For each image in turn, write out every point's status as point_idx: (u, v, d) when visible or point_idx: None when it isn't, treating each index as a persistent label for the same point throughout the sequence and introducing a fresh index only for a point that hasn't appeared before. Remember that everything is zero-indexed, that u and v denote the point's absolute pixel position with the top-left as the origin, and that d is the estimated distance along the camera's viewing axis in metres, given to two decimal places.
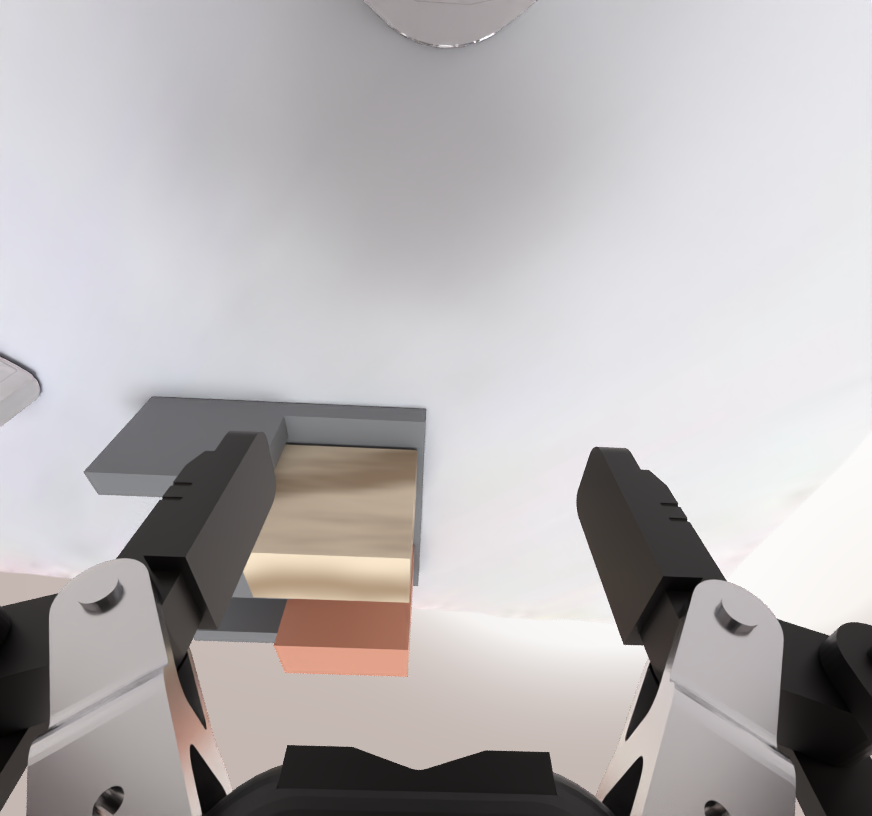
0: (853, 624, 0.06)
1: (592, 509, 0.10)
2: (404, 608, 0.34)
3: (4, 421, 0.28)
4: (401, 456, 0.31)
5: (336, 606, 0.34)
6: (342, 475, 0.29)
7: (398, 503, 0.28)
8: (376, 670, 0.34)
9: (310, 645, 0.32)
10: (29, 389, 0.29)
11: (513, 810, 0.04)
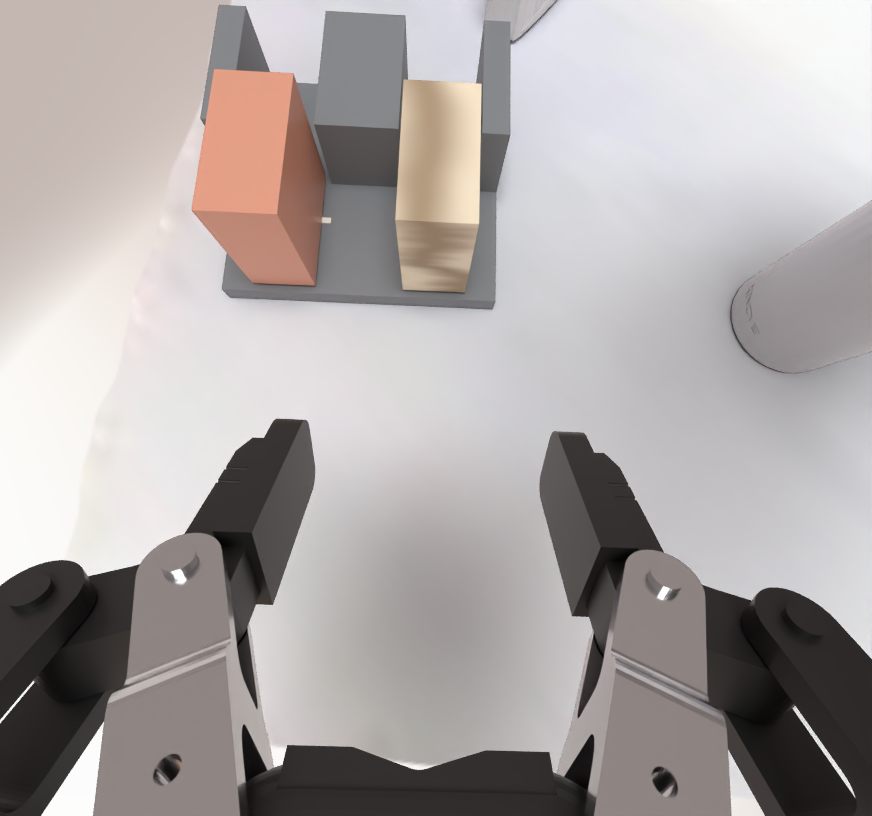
0: (768, 590, 0.07)
1: (551, 491, 0.11)
2: (293, 237, 0.28)
3: (501, 0, 0.38)
4: None
5: (301, 165, 0.29)
6: None
7: None
8: (215, 173, 0.25)
9: (289, 110, 0.27)
10: None
11: (513, 810, 0.04)
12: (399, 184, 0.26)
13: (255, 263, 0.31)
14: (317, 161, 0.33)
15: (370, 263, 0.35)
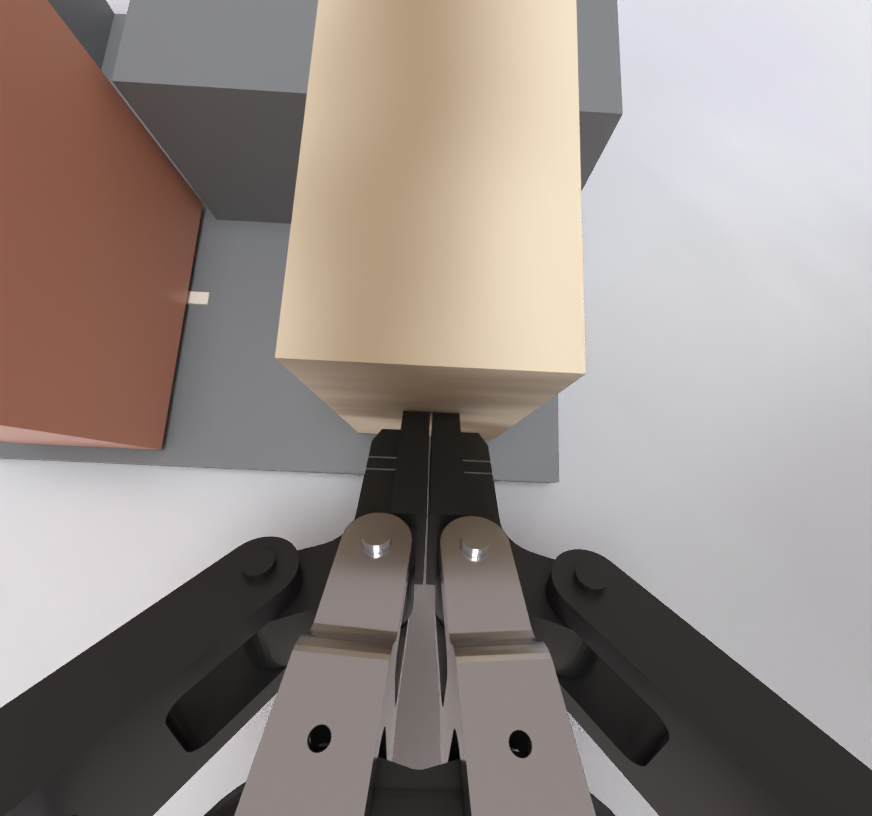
0: (558, 559, 0.07)
1: None
2: (7, 403, 0.10)
3: None
4: None
5: (57, 189, 0.11)
6: None
7: None
8: None
9: None
10: None
11: None
12: (299, 223, 0.07)
13: None
14: (161, 174, 0.14)
15: (288, 394, 0.16)
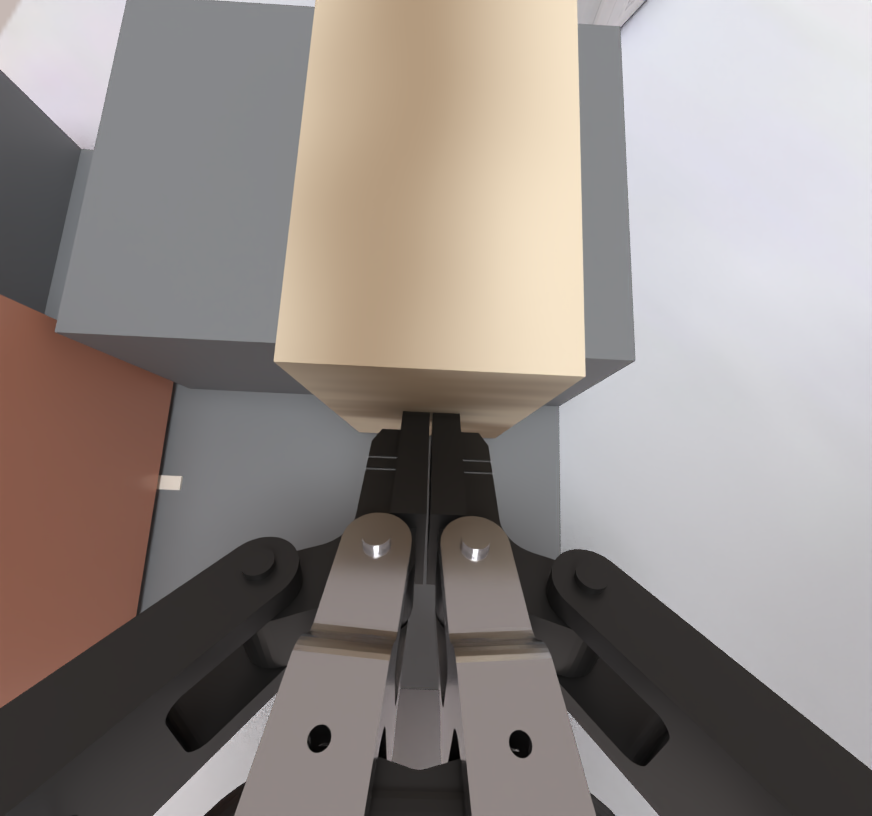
0: (559, 559, 0.07)
1: None
2: None
3: None
4: None
5: None
6: None
7: None
8: None
9: None
10: None
11: None
12: (297, 225, 0.07)
13: None
14: (123, 377, 0.13)
15: None
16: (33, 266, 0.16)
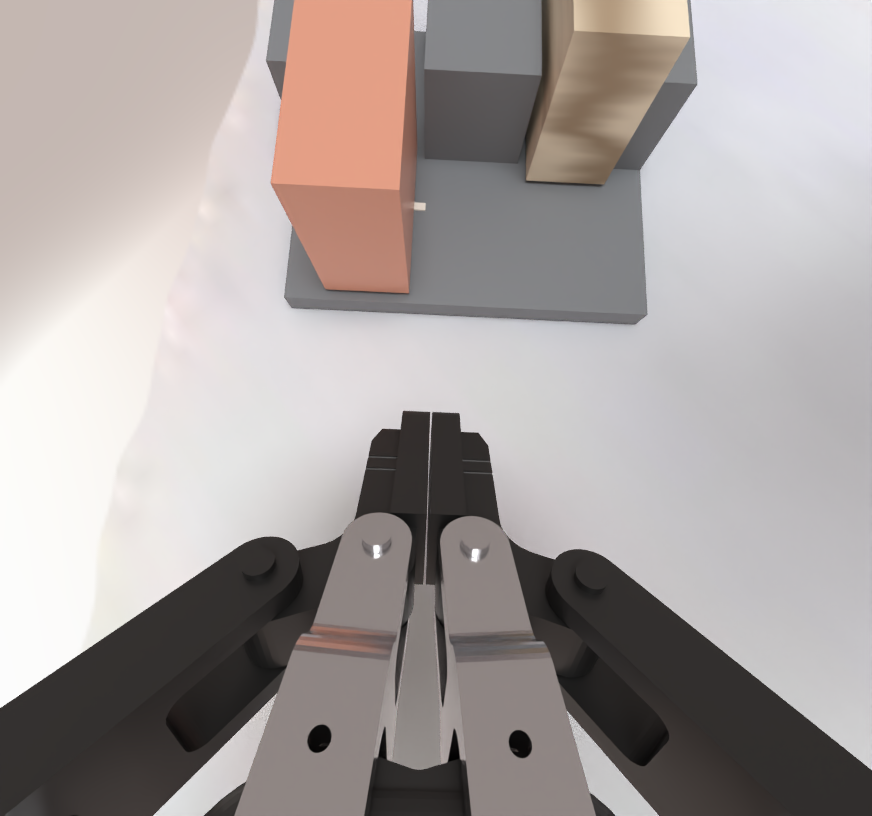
0: (558, 558, 0.07)
1: None
2: (404, 226, 0.20)
3: None
4: None
5: (410, 124, 0.21)
6: None
7: None
8: (304, 128, 0.17)
9: (409, 37, 0.18)
10: None
11: None
12: None
13: (339, 264, 0.22)
14: (415, 125, 0.25)
15: (478, 263, 0.26)
16: None
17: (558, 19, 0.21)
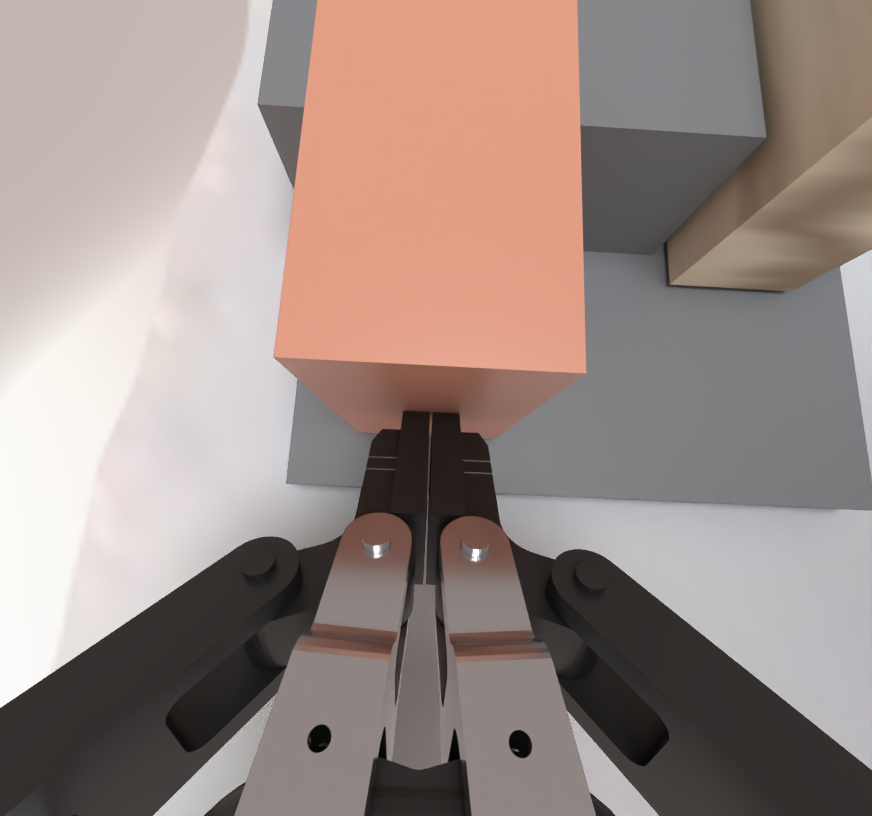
0: (558, 559, 0.07)
1: None
2: None
3: None
4: None
5: None
6: None
7: None
8: (352, 218, 0.07)
9: (576, 14, 0.08)
10: None
11: None
12: None
13: (392, 421, 0.13)
14: None
15: (601, 422, 0.16)
16: None
17: (814, 36, 0.11)
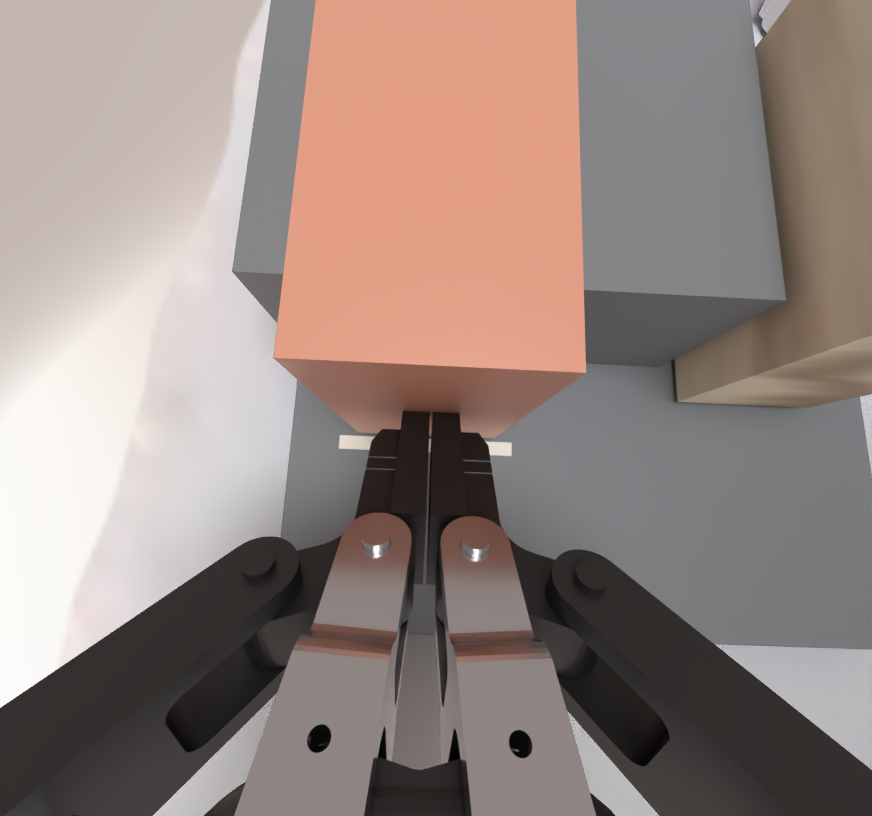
0: (558, 559, 0.07)
1: None
2: None
3: None
4: None
5: None
6: None
7: None
8: (352, 218, 0.07)
9: (575, 12, 0.08)
10: None
11: None
12: None
13: (392, 421, 0.13)
14: None
15: (606, 555, 0.15)
16: None
17: (840, 202, 0.10)
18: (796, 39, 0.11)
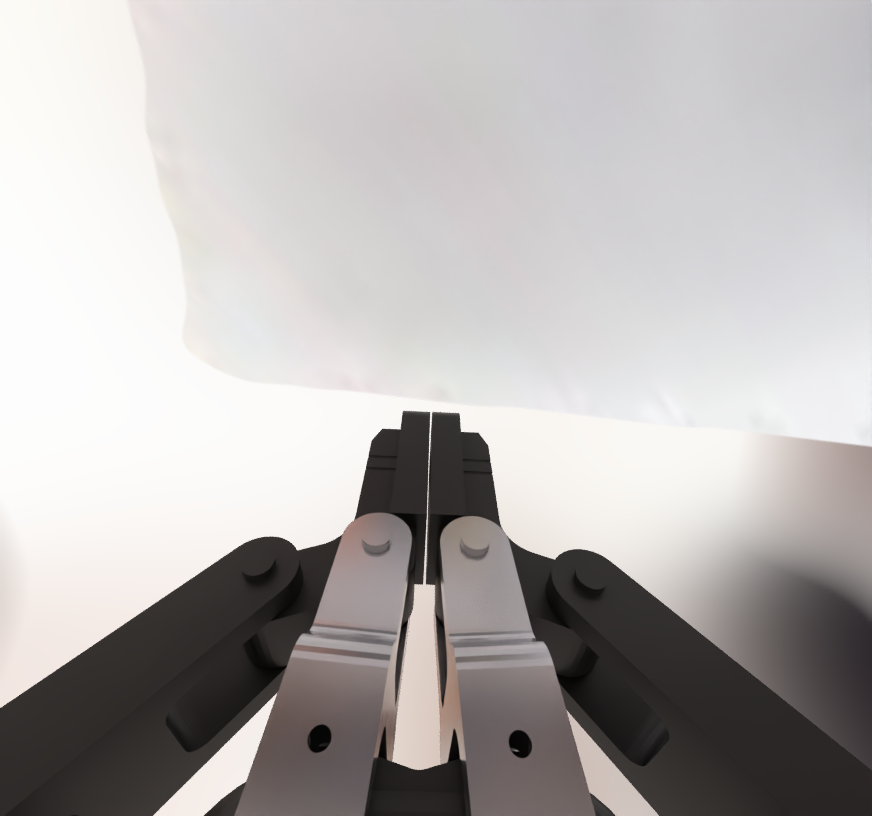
0: (558, 559, 0.07)
1: None
2: None
3: None
4: None
5: None
6: None
7: None
8: None
9: None
10: None
11: None
12: None
13: None
14: None
15: None
16: None
17: None
18: None
